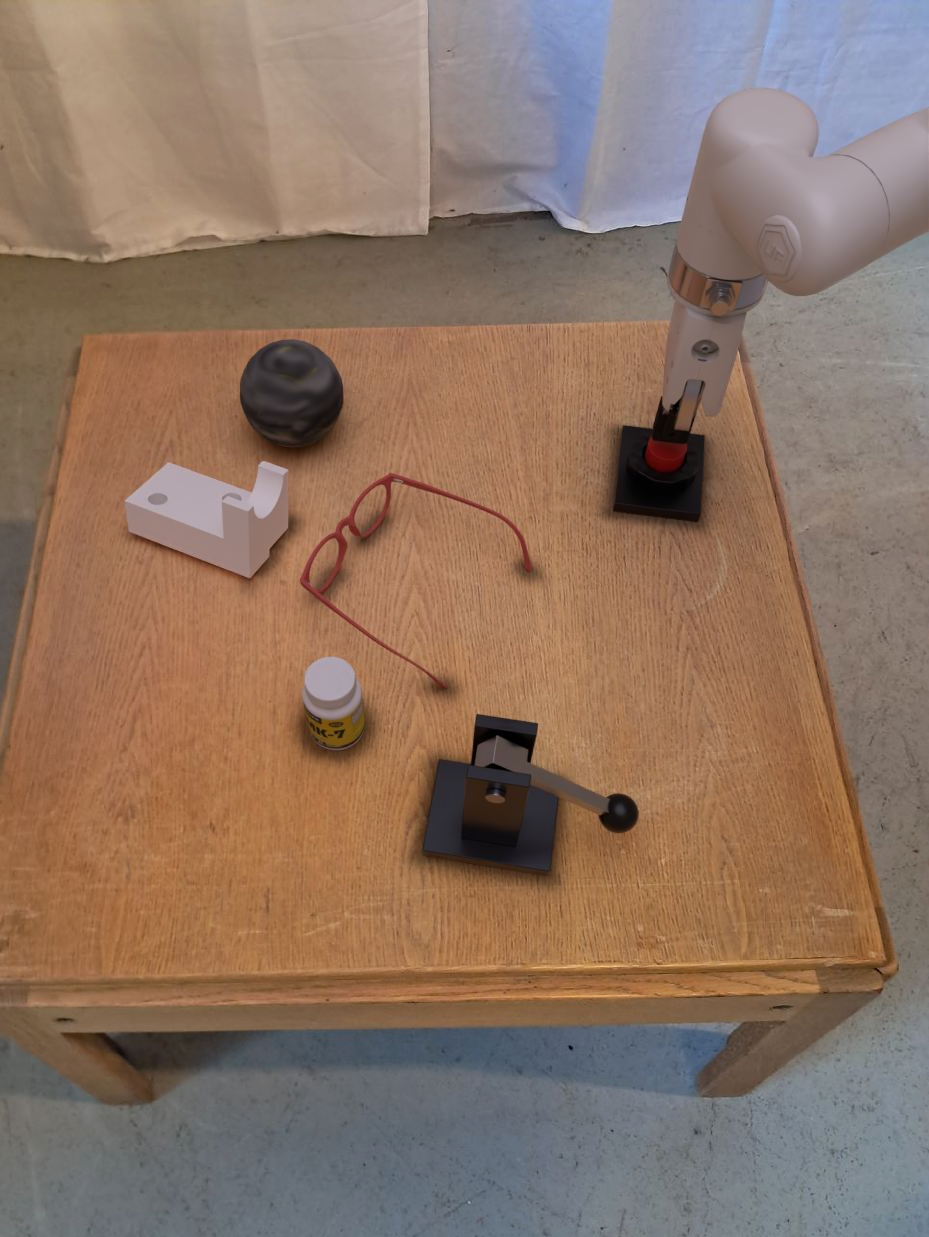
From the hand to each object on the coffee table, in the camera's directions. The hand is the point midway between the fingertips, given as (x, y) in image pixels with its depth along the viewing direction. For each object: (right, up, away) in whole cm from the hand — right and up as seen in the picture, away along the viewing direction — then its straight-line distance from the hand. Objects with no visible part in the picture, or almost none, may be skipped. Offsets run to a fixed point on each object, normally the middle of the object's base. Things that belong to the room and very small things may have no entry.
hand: (669, 435), depth 94 cm
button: (0, -1, +2) cm, 3 cm away
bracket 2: (-17, -34, -12) cm, 40 cm away
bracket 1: (-43, -8, +3) cm, 43 cm away
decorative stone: (-35, +2, +8) cm, 36 cm away
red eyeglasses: (-24, -14, -1) cm, 28 cm away
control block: (0, -3, +5) cm, 6 cm away
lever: (-14, -31, -19) cm, 39 cm away
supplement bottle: (-30, -27, -8) cm, 41 cm away
